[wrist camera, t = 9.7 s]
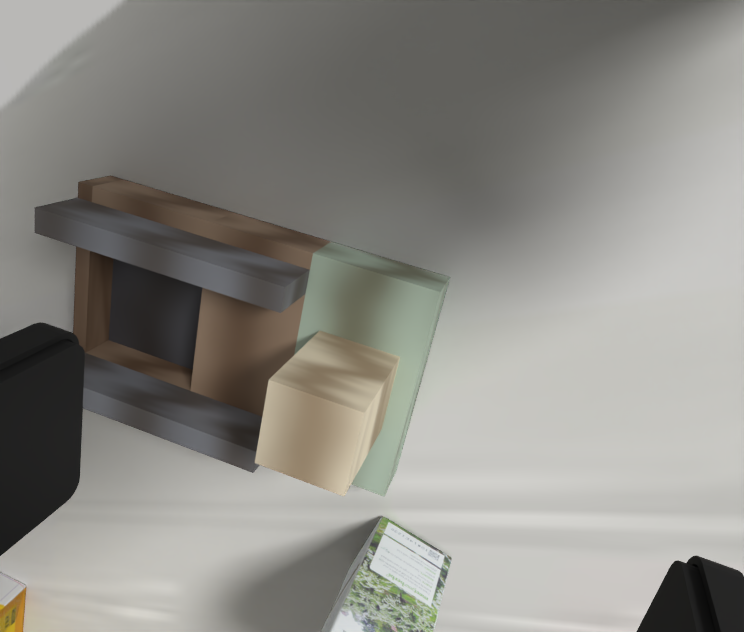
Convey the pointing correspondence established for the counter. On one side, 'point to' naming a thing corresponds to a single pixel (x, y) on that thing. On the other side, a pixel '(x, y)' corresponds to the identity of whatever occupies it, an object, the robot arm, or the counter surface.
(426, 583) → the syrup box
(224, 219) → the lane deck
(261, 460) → the ash block
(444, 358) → the counter surface
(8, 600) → the packaging box
